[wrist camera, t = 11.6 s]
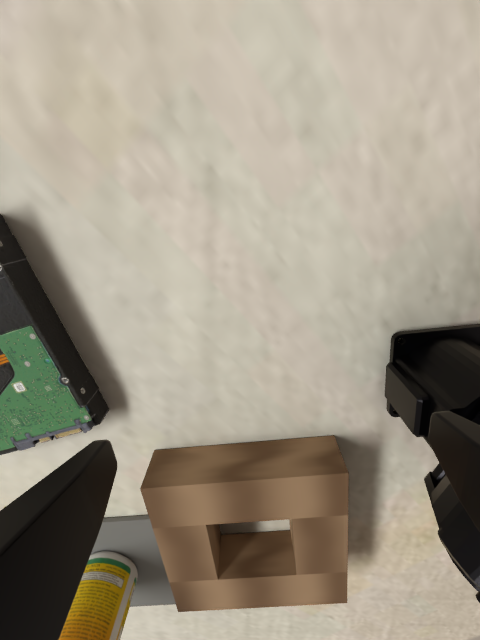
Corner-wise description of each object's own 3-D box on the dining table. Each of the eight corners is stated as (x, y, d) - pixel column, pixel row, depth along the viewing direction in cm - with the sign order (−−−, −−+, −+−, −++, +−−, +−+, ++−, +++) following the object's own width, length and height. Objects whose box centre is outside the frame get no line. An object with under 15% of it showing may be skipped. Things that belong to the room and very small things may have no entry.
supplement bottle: (148, 580, 29) (105, 748, 20) (97, 590, 30) (33, 756, 21) (124, 543, 27) (66, 709, 18) (71, 554, 28) (-11, 719, 19)
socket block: (334, 435, 23) (348, 473, 20) (335, 556, 28) (347, 602, 25) (154, 450, 24) (140, 488, 21) (185, 565, 29) (178, 611, 26)
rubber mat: (160, 514, 27) (159, 518, 26) (184, 598, 31) (184, 603, 30) (28, 523, 27) (25, 527, 27) (69, 605, 31) (67, 610, 31)
